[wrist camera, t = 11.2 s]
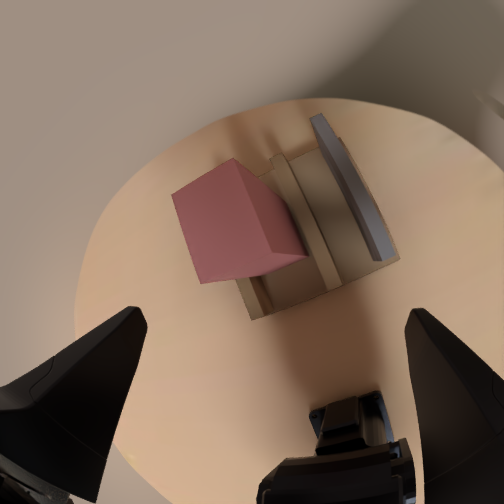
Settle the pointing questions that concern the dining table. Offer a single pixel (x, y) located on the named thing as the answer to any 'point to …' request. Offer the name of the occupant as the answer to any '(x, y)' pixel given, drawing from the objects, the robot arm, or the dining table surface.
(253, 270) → the red rectangular block
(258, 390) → the dining table surface
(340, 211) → the rack
